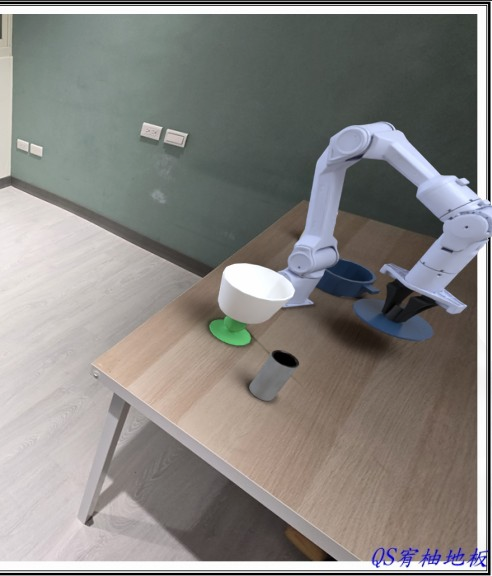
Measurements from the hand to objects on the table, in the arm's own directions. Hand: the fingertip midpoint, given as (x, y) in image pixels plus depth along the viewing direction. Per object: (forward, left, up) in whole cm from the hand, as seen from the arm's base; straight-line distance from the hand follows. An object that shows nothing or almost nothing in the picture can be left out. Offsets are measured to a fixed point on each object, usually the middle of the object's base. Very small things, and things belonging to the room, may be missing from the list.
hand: (393, 316), depth 82 cm
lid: (0, 0, -1) cm, 1 cm away
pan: (+14, +22, -9) cm, 28 cm away
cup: (-29, +9, -10) cm, 32 cm away
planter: (-34, -8, -10) cm, 36 cm away
